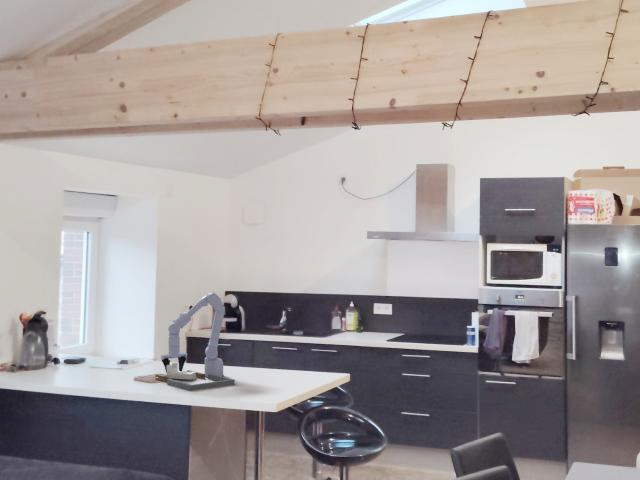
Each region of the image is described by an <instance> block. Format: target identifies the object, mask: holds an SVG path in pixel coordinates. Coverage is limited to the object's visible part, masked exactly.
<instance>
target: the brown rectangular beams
mask: <svg viewBox="0 0 640 480" xmlns="http://www.w3.org/2000/svg"><path fill="white" fill-rule="evenodd" d="M186 372H196V379H201V380H206V377H205V373H204V372H198V371H194V370H191V369H190V370H186ZM154 377H155V380H156V381H160V382H164V383H167V379H172V380H174V379H173V378H171V377H167V375H163V374H159V373H158V374H155V375H154ZM156 377H158V378H156Z"/></svg>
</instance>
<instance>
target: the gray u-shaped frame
mask: <svg viewBox="0 0 640 480" xmlns="http://www.w3.org/2000/svg"><path fill="white" fill-rule="evenodd" d="M207 380H211V381H210V382H209V381H208V382H204V383H203V382H202V383H196V384H190V383H187V382H183V381H179V380H177V379H173V380H172V379H167V382H166V383H167V385H168V386H171V387H175V388H180V389H181V390H186V391H190V392H193V391H200V390H206V389H213V388H220V387H227V386H235V385H236V384H235V381H236V380H235V379H234V378H229V377H225V376H218V375H213V374H208V377H207Z"/></svg>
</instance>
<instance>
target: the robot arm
mask: <svg viewBox="0 0 640 480" xmlns="http://www.w3.org/2000/svg"><path fill="white" fill-rule="evenodd" d="M209 305H210V306H211V307H212V308H213V309H214V311H215V312H214V317H213V322H212V326H211V331H210V336H209V340H208V345H207V346H206V348H205V350H204V353H205V356H206V357H204V374H205V378H208V374H213V375H218V376H222V377H225V374H224V361H223V359H222V358H219V357H218V356H219V352H218V346H219V339H220V335H221V330H222V325H223V320H224V315H225V306H224V304H223V301H222V299H221V297H220V296H219V295H218V294H217V293H215V291H214V292H213V291H209V292H208V293H207V294H206V295H204V296H203V297H202V298H200V299H199V300H198V301H197V302H196V303H195V304H194V305H193V306H192V307H191V308H190V309H189V310H188V311H187V312H186V311H185V312H180V313H179V316H178V317H177V318H176V319H173V320H172V322H171V323H170V324H169V325H168V328H167V329H168V332H169V333H168V354H163V355H160V360H161V362H162V364H163V366H164V370H165V373H166V374H167V365H171V364H170V363H171V359H177V361H178V371H183V369H184V365H185V363H186V360H187V357H188V353H187V352H180V351H181V350H180V347H181V346H180V342H181V341H180V340H181V338H180V331H181V329H183V328H184V327H185V326H187V325H188V324H189V323H190V322H191V321H192V316H194V315H195V314H196V313H197V312H198V311H200V309H201V308H203V307H208V306H209Z"/></svg>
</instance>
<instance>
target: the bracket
mask: <svg viewBox="0 0 640 480" xmlns="http://www.w3.org/2000/svg"><path fill="white" fill-rule="evenodd" d="M196 372H197V371H194V372H187V370H186V371H183V370H182V371H179V362H178V363H175V362H173V363H172V364H170V365H167V373H166V376H167V377H171V378H173V380H185V381H194V380H196V379H197V378H196Z"/></svg>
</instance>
